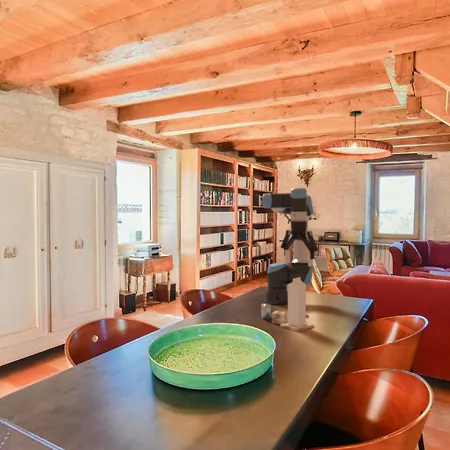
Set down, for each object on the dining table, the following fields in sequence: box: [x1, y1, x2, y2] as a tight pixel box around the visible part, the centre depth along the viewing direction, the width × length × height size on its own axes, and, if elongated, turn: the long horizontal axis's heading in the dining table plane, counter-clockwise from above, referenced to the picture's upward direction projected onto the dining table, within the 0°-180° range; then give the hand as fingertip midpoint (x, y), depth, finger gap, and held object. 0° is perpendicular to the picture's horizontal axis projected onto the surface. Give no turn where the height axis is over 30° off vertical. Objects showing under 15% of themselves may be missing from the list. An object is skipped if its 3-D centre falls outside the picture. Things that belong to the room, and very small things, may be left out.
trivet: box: [279, 321, 314, 333], centre depth 175 cm, size 11×11×1 cm
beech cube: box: [271, 310, 287, 325], centre depth 182 cm, size 5×5×5 cm
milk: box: [287, 277, 307, 327], centre depth 175 cm, size 6×6×22 cm
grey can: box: [260, 302, 272, 321], centre depth 190 cm, size 5×5×7 cm
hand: (298, 264), depth 180 cm, fingers open, 13 cm apart
